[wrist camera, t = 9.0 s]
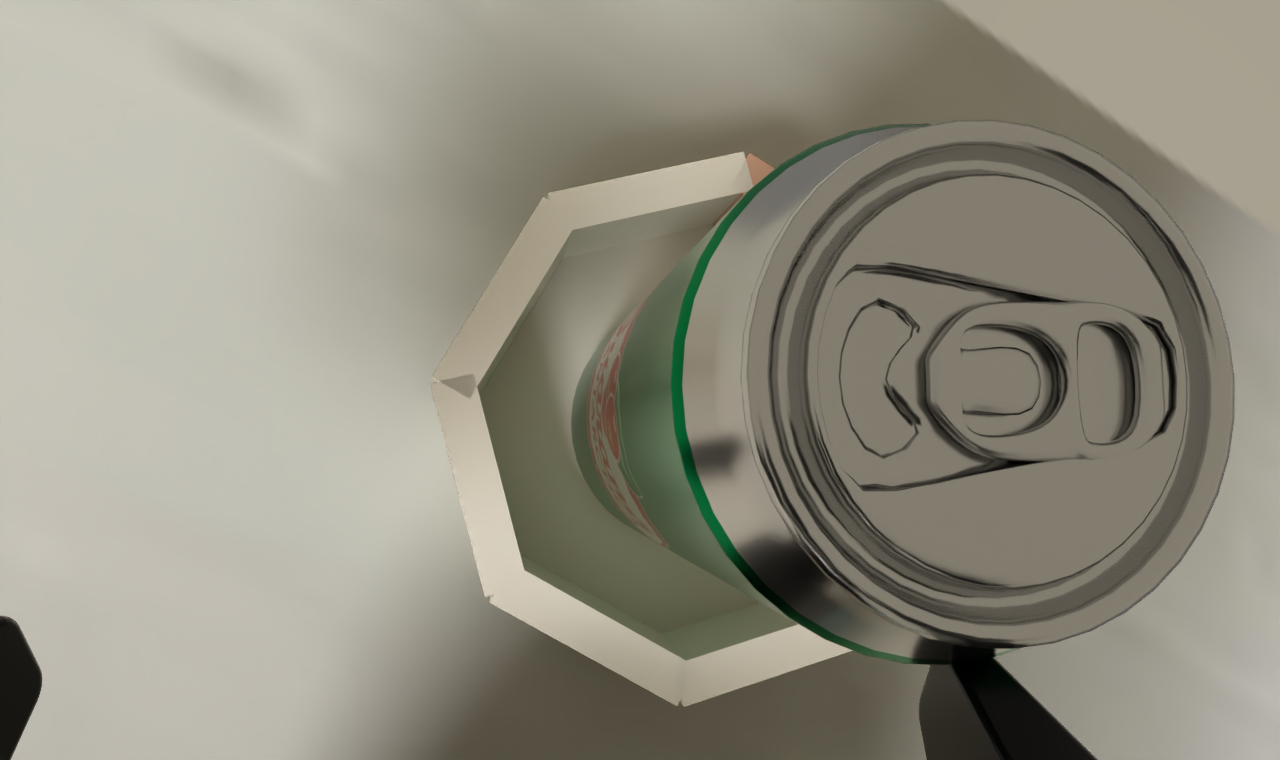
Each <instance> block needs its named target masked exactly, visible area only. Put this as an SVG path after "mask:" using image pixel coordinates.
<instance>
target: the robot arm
mask: <svg viewBox="0 0 1280 760" xmlns="http://www.w3.org/2000/svg"><path fill="white" fill-rule="evenodd" d="M41 687H42V673H41V670H40V667H39V665H38V663H37V661H36V659H35V657H34V655H33V653H32V651H31V649H30V647H29V645H28V643H27V641H26V639H25V637H24V635H23V633H22V631H21V629H20V627H19V625H18V624H17V622H16V621H15V620H13V619H11V618H10V617H6V616H0V760H11V758H12V755H13V753H14V751H15V749H16V747H17V744H18V742H19V740H20V738H21V736H22V733H23V731H24V729H25V727H26V725H27V722H28V720H29V718H30V716H31V714H32V711H33V709H34V707H35V705H36V703H37V700H38V698H39V695H40V691H41ZM919 718H920V725H921V731H922V736H923V742H924V747H925V753H926V758H927V760H1097V759H1096V758H1095V757H1094V756H1093V755H1092V754H1091V753H1090V752H1089V751H1088V750H1087V749H1086V748H1085V747H1084V746H1083V745H1082V744H1081V743H1080V742H1079V741H1078V740H1077V739H1076V738H1075V737H1074V736H1073V735H1072V734H1071V733H1070V732H1069V731H1068V730H1067V729H1066V728H1065V727H1064V726H1063V725H1062V724H1061V723H1060V722H1059V721H1058V720H1057V719H1056V718H1055V717H1054V716H1053V715H1052V714H1051V713H1050V712H1049V711H1048V710H1047V709H1046V708H1045V707H1044V706H1043V705H1042V704H1041V703H1039V702H1038V701H1037V700H1036V699H1035V698H1034V697H1033V696H1032V695H1031V694H1030V693H1029V692H1028V691H1027V690H1026V689H1025V688H1024V687H1023V686H1022V685H1021V684H1020V683H1019V682H1018V681H1017V680H1016V679H1015V678H1014V677H1013V676H1012V675H1011V674H1010V673H1009V672H1008V671H1007V670H1006V669H1005V668H1004V667H1003V666H1002V665H1001V664H1000V663H999V662H998V661H997V660H996V659H995V658H994V657H992V658H989V659H986V660H979V661H972V662H965V663H958V664H951V665H931V666H930V669H929V672H928V675H927V678H926V681H925V684H924V687H923V691H922V694H921V697H920V703H919Z"/></svg>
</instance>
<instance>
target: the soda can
mask: <svg viewBox="0 0 1280 760" xmlns="http://www.w3.org/2000/svg"><path fill="white" fill-rule="evenodd" d="M1233 424H1234V373H1233V365H1232V358H1231V351H1230V343H1229V338H1228V334H1227V331H1226V327H1225V323H1224V320H1223V316H1222V312H1221V309H1220V305H1219V302H1218V299H1217V297H1216V295H1215V292H1214V290H1213V288H1212V285H1211V283H1210V281H1209V278H1208V276H1207V274H1206V271H1205V269H1204V267H1203V265H1202V263H1201V261H1200V260H1199V258H1198V256H1197V255H1196V253H1195V251H1194V250H1193V248H1192V246H1191V245H1190V243H1189V241H1188V240H1187V238H1186V236H1185V234H1184V233H1183V231H1182V230H1181V229H1180V228H1179V226H1178V225H1177V224H1176V223H1175V221H1174V220H1173V219H1172V218H1171V216H1170V215H1169V214H1168V213H1167V211H1166V210H1165V209H1164V208H1163V206H1162V205H1161V204H1160V203H1159V202H1158V201H1157V200H1156V199H1155V198H1154V197H1153V196H1152V195H1151V194H1150V193H1149V192H1148V191H1147V190H1146V189H1145V188H1144V187H1143V186H1141V185H1140V184H1139V183H1138V182H1137V181H1136V180H1135V179H1134V178H1133V177H1132V176H1131V175H1129V174H1128V173H1127V172H1125V171H1124V170H1122V169H1121V168H1119V167H1118V166H1117V165H1115V164H1114V163H1112V162H1111V161H1109V160H1108V159H1107V158H1105V157H1104V156H1102V155H1101V154H1099V153H1097V152H1095V151H1093V150H1091V149H1089V148H1087V147H1085V146H1083V145H1081V144H1079V143H1077V142H1075V141H1073V140H1071V139H1069V138H1067V137H1065V136H1062V135H1059V134H1055V133H1052V132H1049V131H1046V130H1043V129H1039V128H1036V127H1033V126H1030V125H1023V124H1016V123H1010V122H1003V121H996V120H971V121H952V122H947V123H941V124H936V125H931V124H899V125H884V126H879V127H873V128H868V129H863V130H857V131H852V132H848V133H846V134H843V135H840V136H838V137H835V138H832V139H830V140H827V141H824V142H821V143H819V144H816V145H813V146H812V147H810V148H808V149H806V150H805V151H803V152H801V153H800V154H798V155H796V156H794V157H793V158H791V159H789V160H787V161H786V162H784V163H782V164H781V165H779V166H777V167H776V168H775V169H774V170H773V171H771V172H770V173H769V174H768V175H767V176H765V177H764V178H763V179H762V180H761V181H759V182H758V183H757V184H756V185H755V186H753V187H752V188H751V189H750V190H749V191H747V192H746V193H745V194H744V195H743V197H742V198H741V199H740V200H739V201H738V202H737V203H736V204H735V205H734V206H733V207H732V208H731V209H730V210H729V211H728V212H727V213H726V214H725V215H724V216H723V217H722V218H721V219H720V221H719V222H718V223H717V224H716V225H715V226H714V227H713V228H712V229H711V230H710V231H709V232H708V233H707V234H706V235H705V236H704V237H703V238H702V239H701V240H700V241H699V242H698V243H697V245H696V246H695V247H694V248H693V249H692V250H691V251H690V252H689V253H688V254H687V255H686V256H685V257H684V258H683V259H682V260H681V261H680V262H679V263H678V264H677V265H676V266H675V267H674V268H673V270H672V271H671V272H670V273H669V274H668V275H667V276H666V277H665V278H664V279H663V280H662V281H661V282H660V283H659V284H658V285H657V286H656V287H655V288H654V289H653V290H652V291H651V292H650V294H649V295H648V296H647V297H646V298H645V299H644V300H643V301H642V302H641V303H640V304H639V305H638V306H637V307H636V308H635V309H634V310H633V311H632V312H631V313H630V314H629V315H628V316H627V318H626V319H625V320H624V321H623V322H622V323H621V324H620V325H619V326H618V327H617V328H616V329H615V330H614V331H613V332H612V333H611V334H610V335H609V336H608V337H607V338H606V339H605V341H604V342H603V343H602V344H601V345H600V346H599V348H598V349H597V350H596V351H595V352H594V354H593V355H592V357H591V358H590V360H589V362H588V363H587V365H586V367H585V368H584V370H583V373H582V375H581V377H580V380H579V382H578V385H577V388H576V392H575V396H574V400H573V404H572V417H571V431H572V443H573V447H574V451H575V455H576V460H577V463H578V465H579V468H580V470H581V472H582V475H583V477H584V479H585V481H586V483H587V484H588V486H589V488H590V489H591V491H592V492H593V494H594V496H595V497H596V498H597V499H598V500H599V501H600V503H601V504H602V505H603V506H604V507H605V508H606V510H608V511H609V512H610V513H611V514H612V515H613V516H615V517H616V518H617V519H618V520H619V521H621V522H622V523H624V524H625V525H627V526H629V527H630V528H632V529H634V530H635V531H637V532H639V533H640V534H642V535H644V536H646V537H647V538H649V539H651V540H653V541H654V542H656V543H658V544H659V545H661V546H663V547H665V548H666V549H668V550H670V551H672V552H673V553H675V554H677V555H679V556H680V557H682V558H684V559H686V560H687V561H689V562H691V563H693V564H694V565H696V566H698V567H700V568H701V569H703V570H705V571H706V572H708V573H710V574H712V575H713V576H715V577H717V578H719V579H720V580H722V581H724V582H726V583H727V584H729V585H731V586H733V587H734V588H736V589H738V590H740V591H741V592H743V593H745V594H747V595H748V596H750V597H752V598H753V599H755V600H757V601H759V602H760V603H762V604H764V605H766V606H767V607H769V608H771V609H773V610H774V611H776V612H778V613H780V614H781V615H783V616H785V617H787V618H788V619H790V620H792V621H794V622H795V623H797V624H799V625H800V626H802V627H804V628H806V629H807V630H809V631H811V632H813V633H814V634H816V635H818V636H820V637H821V638H823V639H825V640H827V641H830V642H832V643H835V644H838V645H840V646H843V647H845V648H848V649H850V650H853V651H855V652H858V653H860V654H863V655H866V656H871V657H876V658H881V659H886V660H890V661H895V662H900V663H905V664H929V665H951V664H958V663H965V662H972V661H979V660H986V659H989V658H992V657H995V656H999V655H1002V654H1005V653H1008V652H1011V651H1014V650H1017V649H1020V648H1023V647H1029V646H1036V645H1043V644H1050V643H1056V642H1059V641H1062V640H1065V639H1068V638H1071V637H1074V636H1077V635H1080V634H1083V633H1086V632H1090V631H1092V630H1094V629H1096V628H1098V627H1099V626H1101V625H1103V624H1105V623H1107V622H1109V621H1111V620H1113V619H1114V618H1116V617H1118V616H1120V615H1122V614H1124V613H1125V612H1127V611H1128V610H1129V609H1130V608H1132V607H1133V606H1134V605H1136V604H1137V603H1138V602H1139V601H1141V600H1142V599H1143V598H1145V597H1146V596H1147V595H1149V594H1150V593H1151V592H1152V591H1154V590H1155V589H1156V588H1157V587H1158V586H1159V584H1160V583H1161V582H1162V581H1163V580H1164V579H1165V578H1166V577H1167V576H1168V575H1169V574H1170V573H1171V571H1172V570H1173V569H1174V568H1175V567H1176V566H1177V565H1178V564H1179V563H1180V562H1181V560H1182V559H1183V557H1184V556H1185V554H1186V553H1187V551H1188V550H1189V548H1190V547H1191V545H1192V544H1193V542H1194V541H1195V539H1196V538H1197V536H1198V535H1199V533H1200V532H1201V530H1202V528H1203V526H1204V524H1205V521H1206V519H1207V517H1208V515H1209V513H1210V511H1211V508H1212V506H1213V504H1214V502H1215V500H1216V498H1217V495H1218V492H1219V489H1220V486H1221V482H1222V479H1223V475H1224V472H1225V468H1226V465H1227V462H1228V458H1229V452H1230V445H1231V438H1232V431H1233Z"/></svg>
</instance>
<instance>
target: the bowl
mask: <svg viewBox="0 0 1280 760" xmlns="http://www.w3.org/2000/svg"><path fill="white" fill-rule="evenodd" d="M774 169H775V168H773V167H771V166H770V165H768V164H767V163H765V162H764V161H762V160H761V159H759V158H757V157H756V156H754V155H753V154H751V153H749V154H748V156H747V157H746V158H745V154H744V151H743V152H738V153H734V154H729V155H724V156H719V157H715V158H710V159H705V160H700V161H696V162H691V163H686V164H681V165H677V166H672V167H667V168H663V169H658V170H653V171H648V172H644V173H639V174H634V175H629V176H625V177H620V178H615V179H610V180H606V181H601V182H596V183H592V184H587V185H582V186H577V187H573V188H568V189H563V190H558V191H554V192H549V193H548V197H547V199H546V198H545V197H542V199H541V201H540V202H539V204H538V205H537V207H536V209H535V210H534V212H533V214H532V215H531V217H530V218H529V220H528V222H527V223H526V225H525V226H524V228H523V230H522V231H521V233H520V235H519V236H518V238H517V239H516V241H515V243H514V244H513V246H512V247H511V249H510V251H509V252H508V254H507V255H506V257H505V259H504V260H503V262H502V264H501V265H500V267H499V268H498V270H497V272H496V273H495V275H494V276H493V278H492V280H491V281H490V283H489V285H488V286H487V288H486V289H485V291H484V293H483V294H482V296H481V297H480V299H479V301H478V302H477V304H476V306H475V307H474V309H473V310H472V312H471V314H470V315H469V317H468V318H467V320H466V322H465V323H464V325H463V326H462V328H461V330H460V331H459V333H458V335H457V336H456V338H455V339H454V341H453V343H452V344H451V346H450V347H449V349H448V351H447V352H446V354H445V356H444V357H443V359H442V360H441V362H440V364H439V365H438V367H437V368H436V370H435V372H434V373H433V375H432V376H431V377H432V378H433V379H434V380H435V381H436V382H434V383H430V385H431V389H432V393H433V396H434V400H435V404H436V408H437V412H438V416H439V420H440V424H441V428H442V432H443V436H444V440H445V443H446V447H447V451H448V455H449V459H450V463H451V467H452V471H453V475H454V479H455V483H456V487H457V490H458V494H459V498H460V502H461V506H462V510H463V514H464V518H465V522H466V526H467V530H468V533H469V537H470V541H471V545H472V549H473V553H474V557H475V561H476V565H477V569H478V573H479V577H480V580H481V584H482V588H483V592H484V596H485V597H487V596H490V598H489V603H491V604H493V605H495V606H496V607H498V608H500V609H502V610H504V611H505V612H507V613H509V614H511V615H513V616H514V617H516V618H518V619H520V620H522V621H523V622H525V623H527V624H529V625H531V626H533V627H534V628H536V629H538V630H540V631H542V632H543V633H545V634H547V635H549V636H551V637H552V638H554V639H556V640H558V641H560V642H561V643H563V644H565V645H567V646H569V647H571V648H572V649H574V650H576V651H578V652H580V653H581V654H583V655H585V656H587V657H589V658H590V659H592V660H594V661H596V662H598V663H599V664H601V665H603V666H605V667H607V668H608V669H610V670H612V671H614V672H616V673H618V674H619V675H621V676H623V677H625V678H627V679H628V680H630V681H632V682H634V683H636V684H637V685H639V686H641V687H643V688H645V689H646V690H648V691H650V692H652V693H654V694H656V695H657V696H659V697H661V698H663V699H665V700H666V701H668V702H670V703H672V704H674V705H675V706H677V705H678V704H679V702H680V703H681V704H682V705H683V707H686V706H689V705H692V704H695V703H698V702H701V701H704V700H707V699H710V698H713V697H716V696H719V695H722V694H725V693H728V692H731V691H734V690H737V689H740V688H743V687H745V686H748V685H751V684H754V683H757V682H760V681H763V680H766V679H769V678H772V677H775V676H778V675H781V674H784V673H787V672H790V671H793V670H796V669H799V668H802V667H805V666H808V665H811V664H814V663H817V662H820V661H823V660H826V659H829V658H832V657H835V656H838V655H841V654H844V653H847V652H850V651H853V650H850V649H848V648H845V647H843V646H840V645H838V644H835V643H832V642H830V641H827V640H825V639H823V638H821V637H820V636H818V635H816V634H814V633H813V632H811V631H809V630H807V629H806V628H804V627H802V626H800V625H799V624H797V623H795V622H794V621H792V620H790V619H788V618H787V617H785V616H783V615H781V614H780V613H778V612H776V611H774V610H773V609H771V608H769V607H767V606H766V605H764V604H762V603H760V602H759V601H757V600H755V599H753V598H752V597H750V596H748V595H747V594H745V593H743V592H741V591H740V590H738V589H736V588H734V587H733V586H731V585H729V584H727V583H726V582H724V581H722V580H720V579H719V578H717V577H715V576H713V575H712V574H710V573H708V572H706V571H705V570H703V569H701V568H700V567H698V566H696V565H694V564H693V563H691V562H689V561H687V560H686V559H684V558H682V557H680V556H679V555H677V554H675V553H673V552H672V551H670V550H668V549H666V548H665V547H663V546H661V545H659V544H658V543H656V542H654V541H653V540H651V539H649V538H647V537H646V536H644V535H642V534H640V533H639V532H637V531H635V530H634V529H632V528H630V527H629V526H627V525H625V524H624V523H622V522H621V521H619V520H618V519H617V518H616V517H615V516H613V515H612V514H611V513H610V512H609V511H608V510H606V508H605V507H604V506H603V505H602V504H601V503H600V501H599V500H598V499H597V498H596V497H595V496H594V494H593V492H592V491H591V489H590V488H589V486H588V484H587V483H586V481H585V479H584V477H583V475H582V472H581V470H580V468H579V465H578V463H577V460H576V455H575V451H574V447H573V443H572V431H571V417H572V404H573V400H574V396H575V392H576V388H577V385H578V382H579V380H580V377H581V375H582V373H583V370H584V368H585V367H586V365H587V363H588V362H589V360H590V358H591V357H592V355H593V354H594V352H595V351H596V350H597V349H598V348H599V346H600V345H601V344H602V343H603V342H604V341H605V339H606V338H607V337H608V336H609V335H610V334H611V333H612V332H613V331H614V330H615V329H616V328H617V327H618V326H619V325H620V324H621V323H622V322H623V321H624V320H625V319H626V318H627V316H628V315H629V314H630V313H631V312H632V311H633V310H634V309H635V308H636V307H637V306H638V305H639V304H640V303H641V302H642V301H643V300H644V299H645V298H646V297H647V296H648V295H649V294H650V292H651V291H652V290H653V289H654V288H655V287H656V286H657V285H658V284H659V283H660V282H661V281H662V280H663V279H664V278H665V277H666V276H667V275H668V274H669V273H670V272H671V271H672V270H673V268H674V267H675V266H676V265H677V264H678V263H679V262H680V261H681V260H682V259H683V258H684V257H685V256H686V255H687V254H688V253H689V252H690V251H691V250H692V249H693V248H694V247H695V246H696V245H697V243H698V242H699V241H700V240H701V239H702V238H703V237H704V236H705V235H706V234H707V233H708V232H709V231H710V230H711V229H712V228H713V227H714V226H715V225H716V224H717V223H718V222H719V221H720V219H721V218H722V217H723V216H724V215H725V214H726V213H727V212H728V211H729V210H730V209H731V208H732V207H733V206H734V205H735V204H736V203H737V202H738V201H739V200H740V199H741V198H742V197H743V195H744V194H745V193H746V192H747V191H749V190H750V189H751V188H752V187H753V186H755V185H756V184H757V183H758V182H759V181H761V180H762V179H763V178H764V177H765V176H767V175H768V174H769V173H770V172H771V171H773V170H774Z"/></svg>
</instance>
